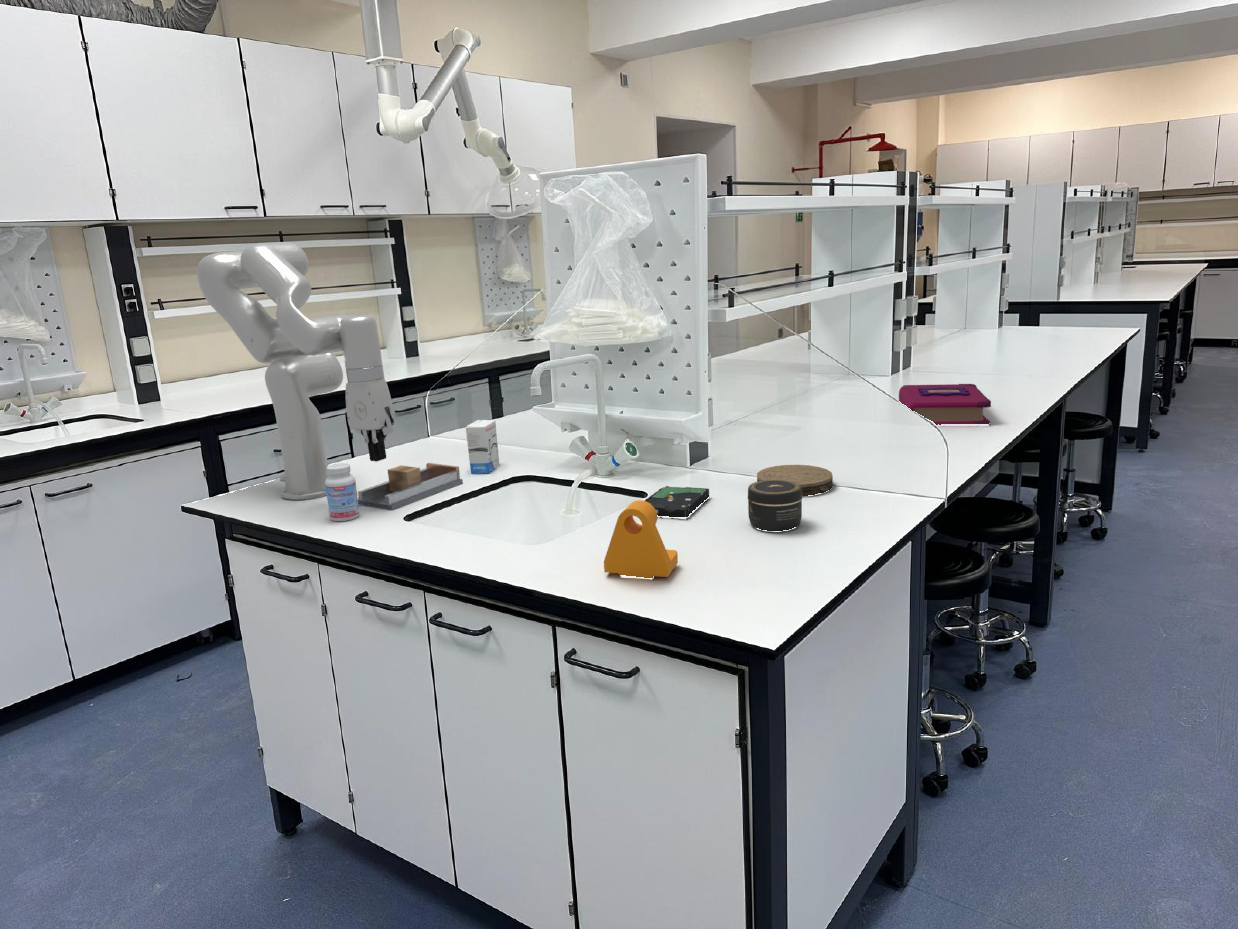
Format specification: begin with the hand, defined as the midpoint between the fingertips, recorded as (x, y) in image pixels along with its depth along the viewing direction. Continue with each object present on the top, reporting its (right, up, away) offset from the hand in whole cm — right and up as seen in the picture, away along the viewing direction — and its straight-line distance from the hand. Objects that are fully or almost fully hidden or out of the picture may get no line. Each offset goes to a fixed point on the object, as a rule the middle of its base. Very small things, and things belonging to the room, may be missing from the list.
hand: (378, 459), depth 186 cm
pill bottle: (-6, -12, -5) cm, 14 cm away
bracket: (+56, -19, -42) cm, 73 cm away
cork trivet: (+89, -6, -1) cm, 90 cm away
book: (+143, +12, +58) cm, 154 cm away
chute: (+5, -8, +10) cm, 14 cm away
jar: (+81, -13, -24) cm, 85 cm away
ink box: (+19, -2, +28) cm, 34 cm away
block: (+4, -7, +9) cm, 12 cm away
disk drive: (+63, -10, -10) cm, 65 cm away
